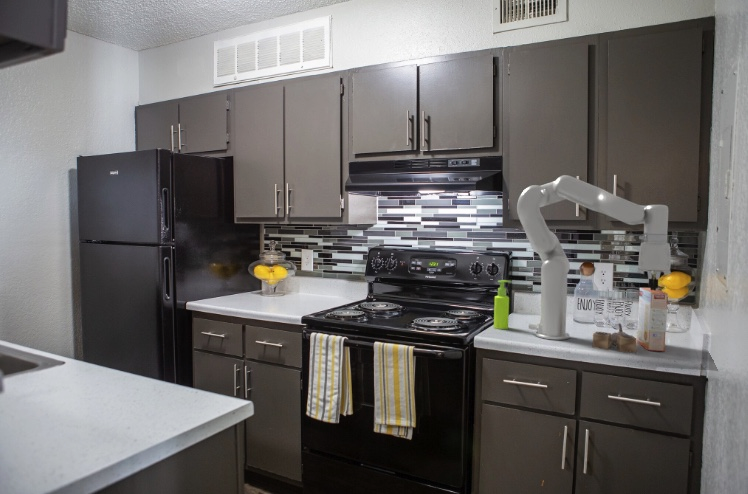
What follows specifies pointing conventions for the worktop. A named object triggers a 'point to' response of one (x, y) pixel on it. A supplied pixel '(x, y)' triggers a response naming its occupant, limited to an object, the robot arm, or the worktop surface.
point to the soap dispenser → (501, 307)
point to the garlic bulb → (614, 335)
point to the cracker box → (652, 319)
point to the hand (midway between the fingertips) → (653, 289)
